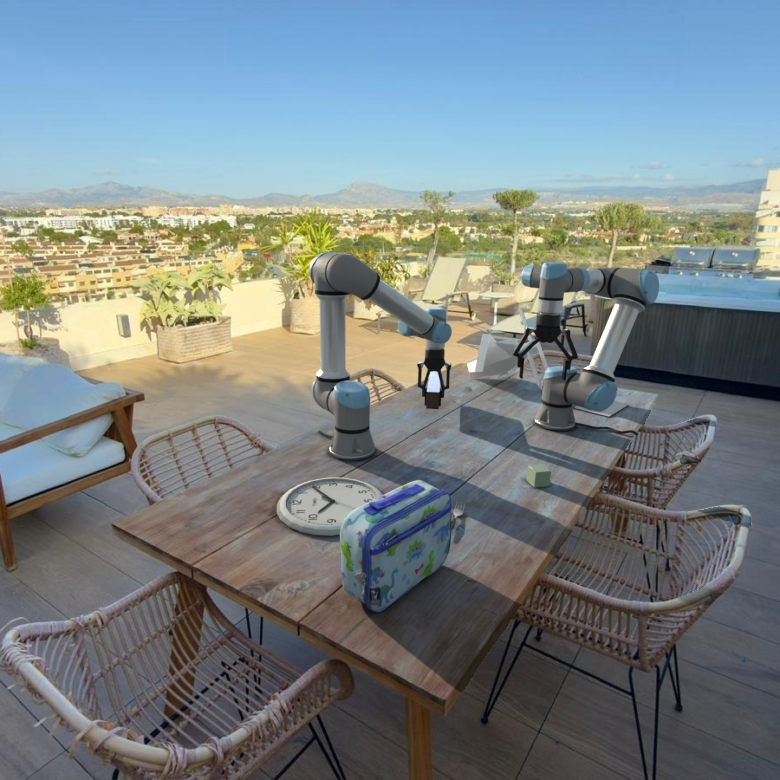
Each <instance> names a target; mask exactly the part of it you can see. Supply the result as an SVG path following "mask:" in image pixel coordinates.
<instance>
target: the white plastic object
mask: <svg viewBox="0 0 780 780" xmlns="http://www.w3.org/2000/svg"><path fill="white" fill-rule="evenodd" d="M517 310H518V314H519V316H520V319H521V322H522V325H523V328H524V329H525V328H526V327H528V328H530V327H529V325H528V324H529V323H528V321H527V318H526V316H525V312H524V311H523V309H522V307H521V306H520V307H518V308H517ZM532 339H533V336H532V334H531V335H529V336H528V338H527V342H525V343H524V344H523V346H522V347H521V349H520V351H521V350H522V349H523V348H524V347H526V346H527V345H528V344H529V343H530V342H531V341H532ZM518 342H519V341H517V338H516V337H512V338H507V339H503V340H499V341H497V340H496V339H495V338H494V336H492V334H491V333H482V334H481V339H480V344H479V349H478V353H477V356H476V357H477V358H476V359H475V360H473V361H471V362H468V363H467V364H466V366H467V369H468V373H469V375H470V376H471V377H472V379H476V378H485V377H492V376H493V377H494V376H498V377H502V376H506V375H508V374H509V371H511V370H513V368H515V367H517V359H518V357H516V356H513V354H512V352H513V350H514V349H515V347H516V345H517V344H518ZM520 351H519V352H520ZM519 352H518V353H519ZM537 353H538V354H539V357H540V360H541V363H542V367H543V369H544V372H545V371H546V369H547V368H549V365H548V361H547V359H546V356H545V352H544V350H543V348H542V345H541V342H540V341H539V342H538V343H537V344H535V345H534V346H533V347H532V348H531V349H530V350H529V351H528V352H527V353H526V354H525V355H524V356H523V357H524V361H525V360H527V359H528V363H529V366H530V368H531V372H532V375H533V378H534V381H535V384H536V386H537V387H538V388H539V390H540V391H543V384H542V382H541V379H540V376H539V372H538V370H537V366H536V364H535V361H534V358H533V355H535V354H537Z"/></svg>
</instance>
